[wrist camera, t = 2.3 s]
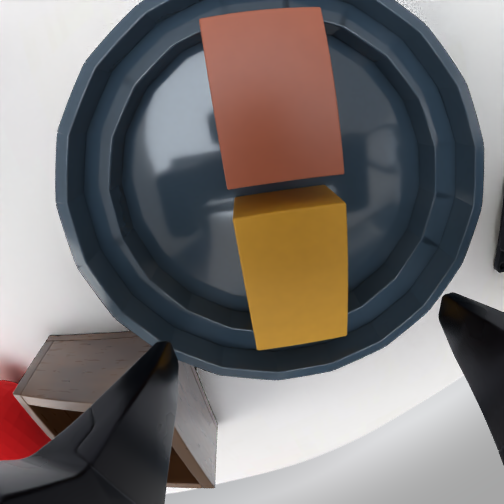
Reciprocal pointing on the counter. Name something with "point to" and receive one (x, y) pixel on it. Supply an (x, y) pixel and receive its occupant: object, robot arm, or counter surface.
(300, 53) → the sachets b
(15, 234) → the counter surface
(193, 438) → the holder
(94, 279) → the bowl
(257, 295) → the yellow block
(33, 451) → the ornament
